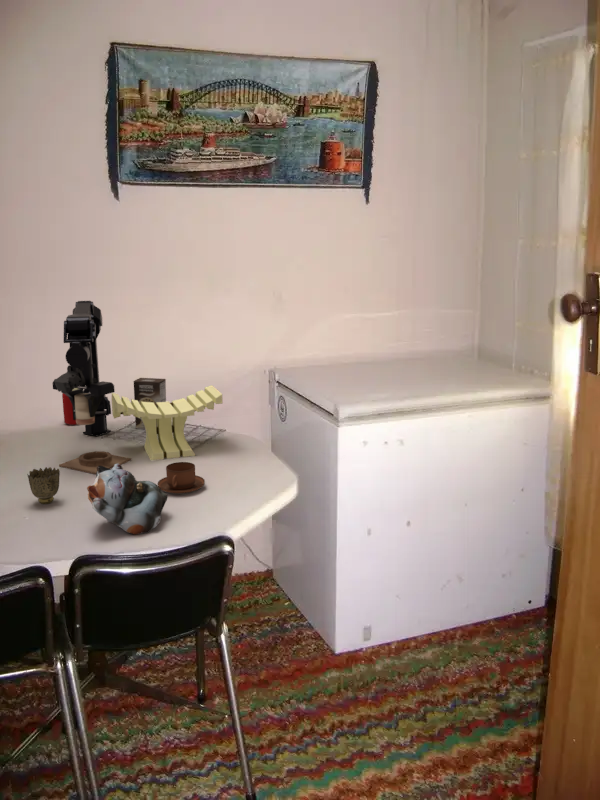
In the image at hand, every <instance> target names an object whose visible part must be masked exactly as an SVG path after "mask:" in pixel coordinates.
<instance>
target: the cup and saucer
mask: <svg viewBox="0 0 600 800" xmlns="http://www.w3.org/2000/svg"><path fill="white" fill-rule="evenodd" d="M165 471H166V477H163V478H161V479H160V480H158V481H157V486H158V487H159V488H160V489H161V491H162V492H164V493H167V494H168V493H169V494H175V495H177V494H179V495H180V494H181V495H182V494H188V493H190V494H191V493H193V492H196V491H198V490H200V489H201V488H202V487H203V486H204V485H205V483H206V481H205V478H204V477H202V476H199V475H196V465H195V464H194V463H192V462H188V461H187V462H186V461H177V462H173V463H172V462H171V463H169V464H167V465H166V467H165Z"/></svg>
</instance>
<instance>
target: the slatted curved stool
mask: <svg viewBox="0 0 600 800" xmlns="http://www.w3.org/2000/svg"><path fill="white" fill-rule="evenodd" d="M223 403H224V402H223V393H222V392H221V391H219V390H218V389H217V388H216V387H215V386H214V385H208V386H206V387H204V390H203V389H200V390H198V391H195V393H194V394H193V393H192V394H190V395H187V396H186V398H185V397H183V398H179V399H178V398H177V399H174V400H171V402H170V401H166V402H156V404H154V403H153V402H141V405H140V404H139V402H138V400H134V398H133V399H129V397H126V396H122V395H121V396H120V395H119V394H118V393H115V392H113V393H111V415H112V418H113V419H118V418H121V415H123V417H130V416H131V415H132V416H133V417H134V418H135V417H138V418H140V417H141V419H142V421H143V423H144V426H145V429H144V430H145V433H146V435H145V436H146V437H145V441H144V450H145V452H146V454H147V456H148V458H149V460H150V461H157V460H158V461H159V460H164V459H167V460H168V459H176V458H177V459H179V458H181V457H183V458H186V457H187V458H188V457H196V454H195V452H194V451H193V449H192V448H191V446H190V444H189V442H188V440H187V439H186V437H185V434H184V433H185V432H184V429H185V425H186V422H187V420H188V417H192V416H193V417H194V416H195V412H197V413H202V412H205V410H206V409H208V410H212V411H213V410H215V405H221V404H223ZM156 419H157V427H156Z"/></svg>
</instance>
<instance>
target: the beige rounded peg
mask: <svg viewBox="0 0 600 800" xmlns="http://www.w3.org/2000/svg"><path fill="white" fill-rule="evenodd" d="M86 394H89V393H82V394H76V395H74V398H75V411H76V424H78V425H77V426H79V425H80V426H85V425H89V424H93V423H95V417H90V413H89V405H88V399H87V398H86V397H85V396H84V395H86Z"/></svg>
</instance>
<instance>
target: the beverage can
mask: <svg viewBox="0 0 600 800" xmlns="http://www.w3.org/2000/svg"><path fill="white" fill-rule="evenodd" d="M61 396H62V408H63V409H62V410H63V421H64V423H65V424H67V425H69V426H79V425H78V424H76V412H75V410H74V408H73V405H72V403H71V401H70V399H69V397H68V396H67V395H65V394H64V393H62V395H61Z"/></svg>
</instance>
